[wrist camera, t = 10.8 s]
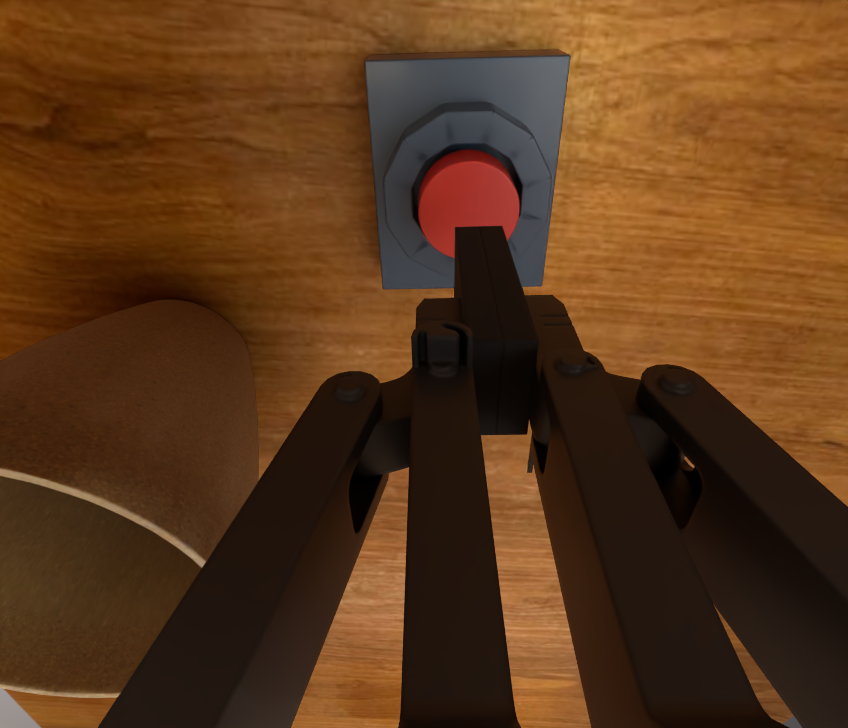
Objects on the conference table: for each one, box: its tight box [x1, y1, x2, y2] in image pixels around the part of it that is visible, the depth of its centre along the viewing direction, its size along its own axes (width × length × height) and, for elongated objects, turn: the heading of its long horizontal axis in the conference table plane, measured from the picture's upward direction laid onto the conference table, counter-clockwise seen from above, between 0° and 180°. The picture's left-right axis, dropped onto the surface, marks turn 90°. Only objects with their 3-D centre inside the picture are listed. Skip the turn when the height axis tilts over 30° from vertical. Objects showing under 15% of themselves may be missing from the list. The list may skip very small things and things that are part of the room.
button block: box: [364, 49, 570, 289], centre depth 23 cm, size 10×8×4 cm
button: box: [418, 149, 520, 258], centre depth 21 cm, size 4×4×2 cm
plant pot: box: [0, 299, 259, 698], centre depth 24 cm, size 15×15×16 cm
